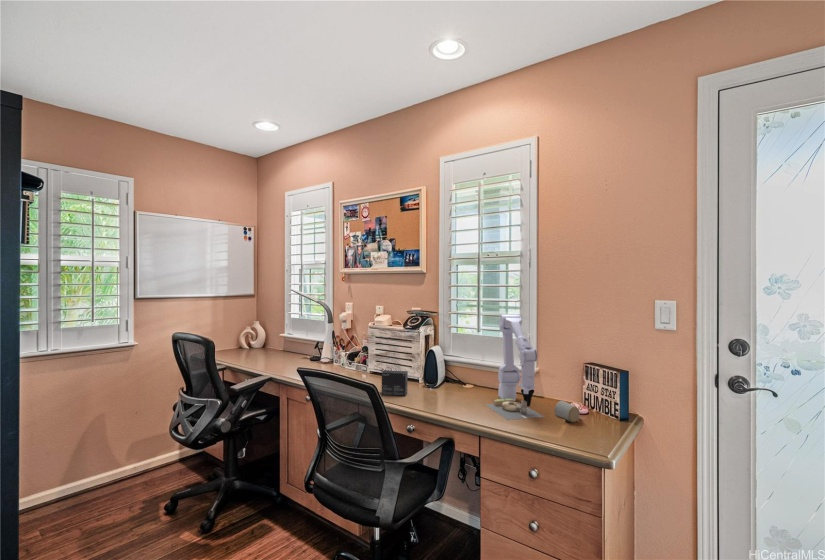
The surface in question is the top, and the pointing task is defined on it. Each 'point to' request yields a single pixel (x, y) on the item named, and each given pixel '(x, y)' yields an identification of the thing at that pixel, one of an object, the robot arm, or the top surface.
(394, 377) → the small box
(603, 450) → the top surface
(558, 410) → the ceramic mug
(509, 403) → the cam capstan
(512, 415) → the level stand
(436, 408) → the top surface
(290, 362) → the top surface
